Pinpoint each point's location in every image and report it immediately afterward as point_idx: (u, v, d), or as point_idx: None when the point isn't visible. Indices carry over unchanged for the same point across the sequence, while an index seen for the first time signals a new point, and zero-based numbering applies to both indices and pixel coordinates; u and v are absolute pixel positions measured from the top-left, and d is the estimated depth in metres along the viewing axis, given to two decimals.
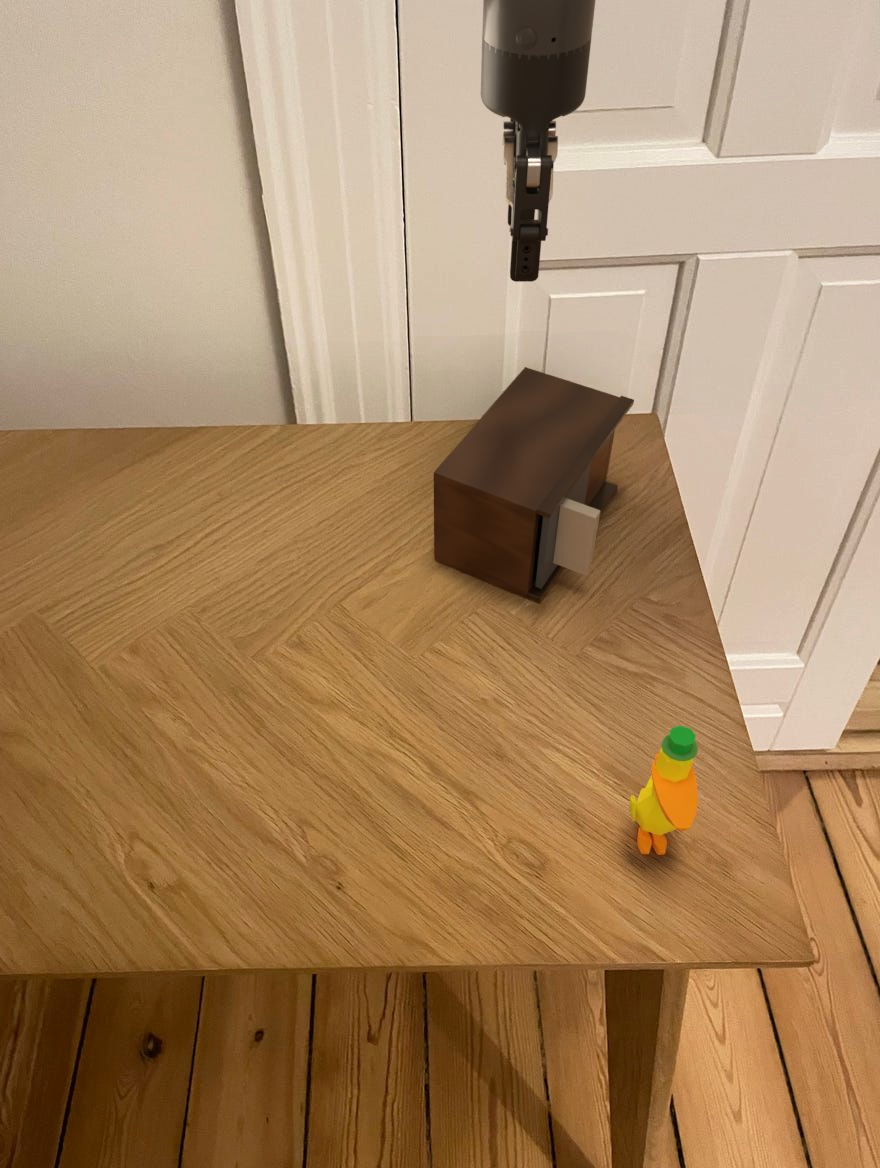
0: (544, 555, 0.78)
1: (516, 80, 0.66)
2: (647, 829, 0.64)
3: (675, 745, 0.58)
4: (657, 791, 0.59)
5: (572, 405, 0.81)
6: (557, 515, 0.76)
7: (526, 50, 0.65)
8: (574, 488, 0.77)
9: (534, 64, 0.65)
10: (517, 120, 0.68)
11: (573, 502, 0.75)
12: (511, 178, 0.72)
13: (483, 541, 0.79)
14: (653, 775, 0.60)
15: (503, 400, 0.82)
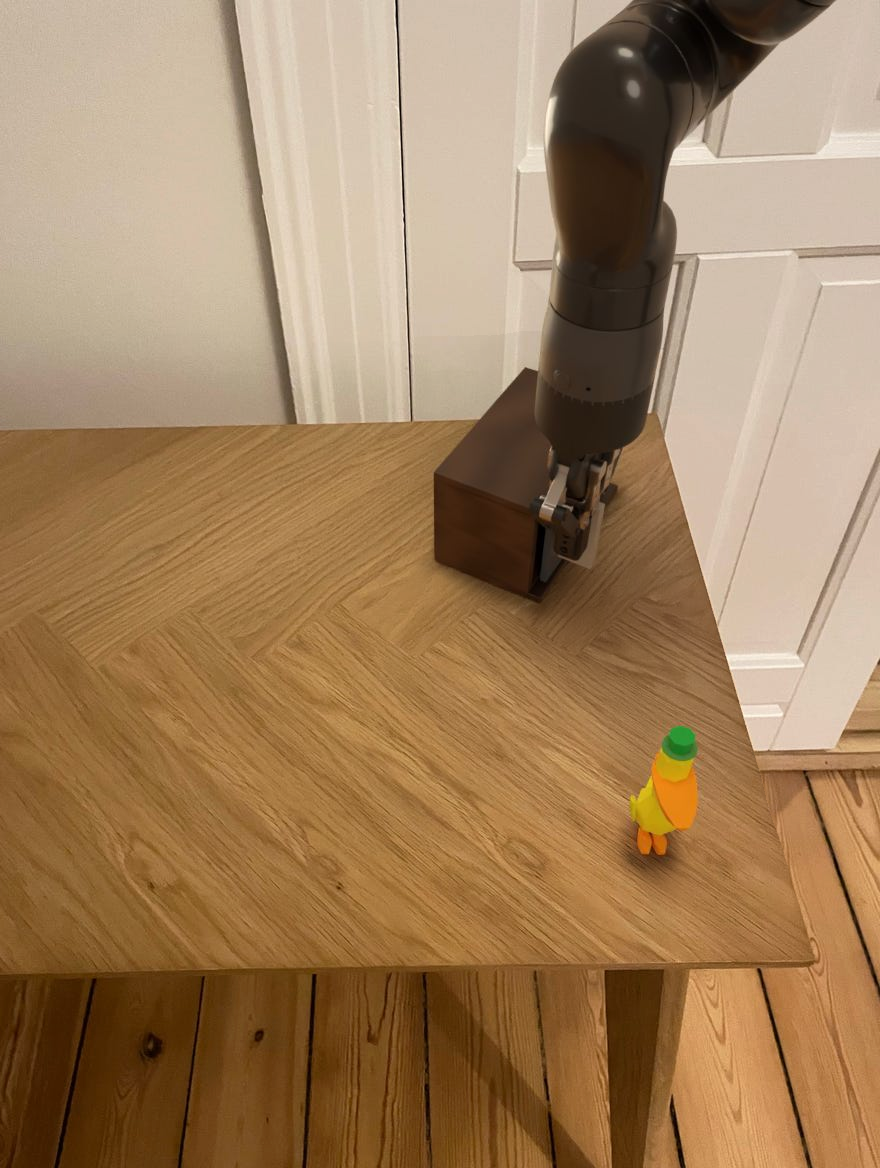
0: (549, 548, 0.78)
1: (552, 410, 0.63)
2: (647, 829, 0.64)
3: (675, 745, 0.58)
4: (657, 791, 0.59)
5: None
6: None
7: (561, 389, 0.61)
8: None
9: (568, 403, 0.62)
10: (551, 443, 0.65)
11: None
12: None
13: (483, 541, 0.79)
14: (653, 775, 0.60)
15: (503, 400, 0.82)
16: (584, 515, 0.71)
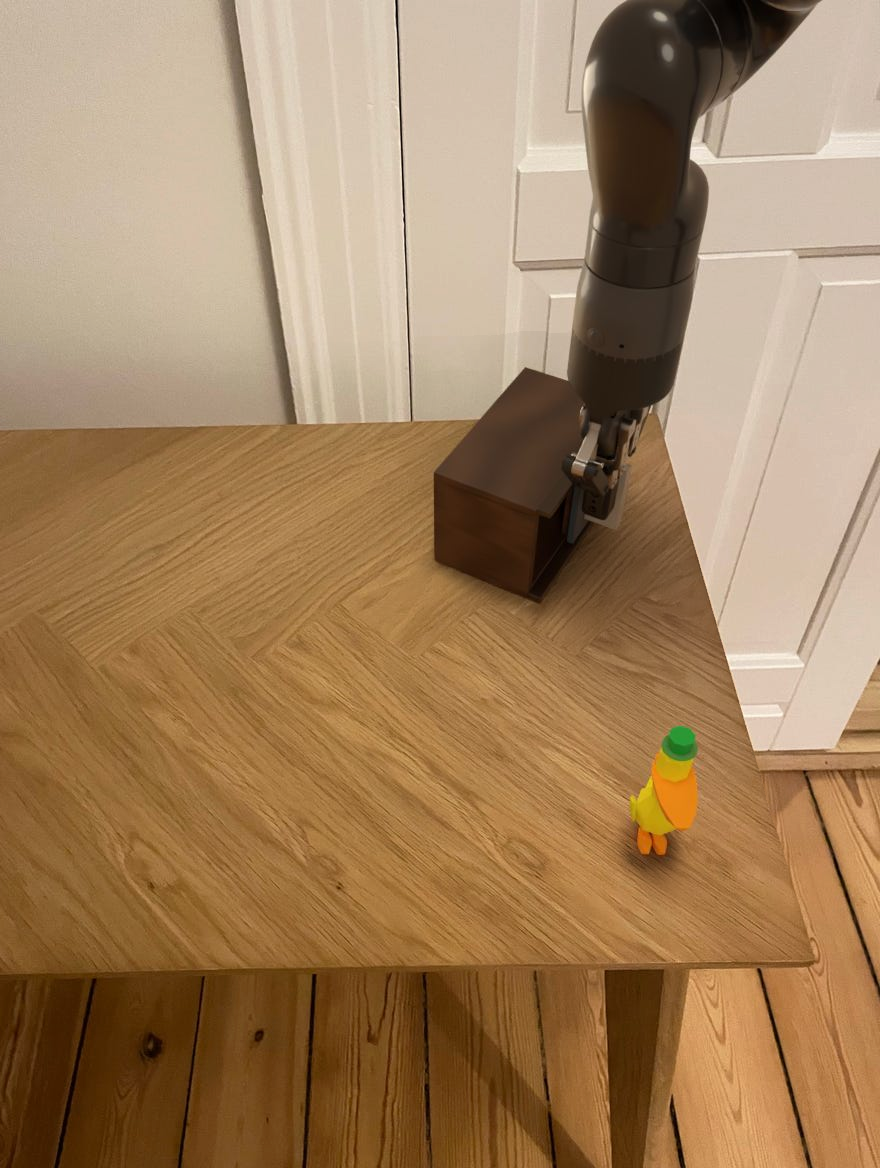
0: (576, 509, 0.81)
1: (585, 368, 0.66)
2: (647, 829, 0.64)
3: (675, 745, 0.58)
4: (657, 791, 0.59)
5: (572, 405, 0.81)
6: None
7: (595, 347, 0.64)
8: None
9: (601, 361, 0.64)
10: (583, 401, 0.68)
11: None
12: None
13: (483, 541, 0.79)
14: (653, 775, 0.60)
15: (503, 400, 0.82)
16: (613, 474, 0.74)
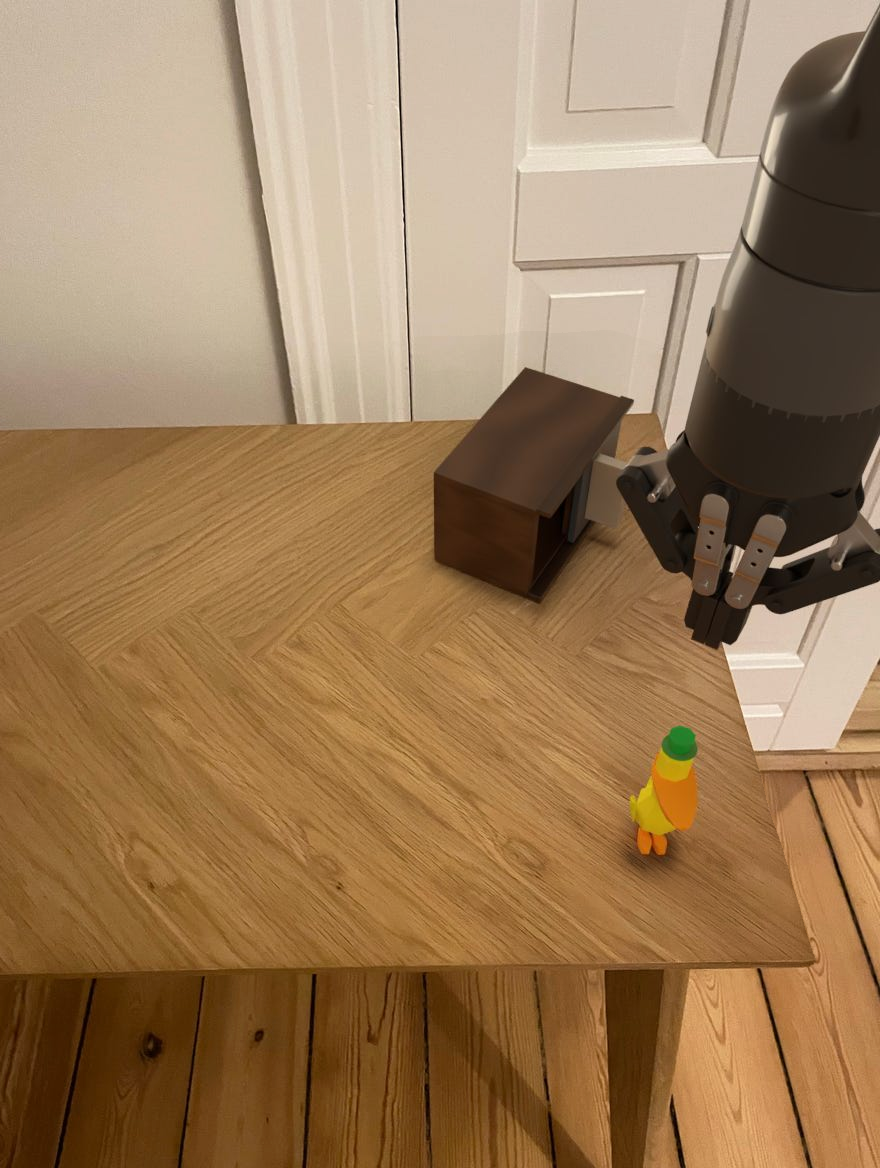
0: (577, 509, 0.81)
1: (869, 437, 0.37)
2: (647, 829, 0.64)
3: (675, 745, 0.58)
4: (657, 791, 0.59)
5: (572, 405, 0.81)
6: (590, 469, 0.79)
7: None
8: (606, 444, 0.80)
9: None
10: (850, 486, 0.39)
11: (606, 457, 0.79)
12: (771, 560, 0.44)
13: (483, 541, 0.79)
14: (653, 775, 0.60)
15: (503, 400, 0.82)
16: None
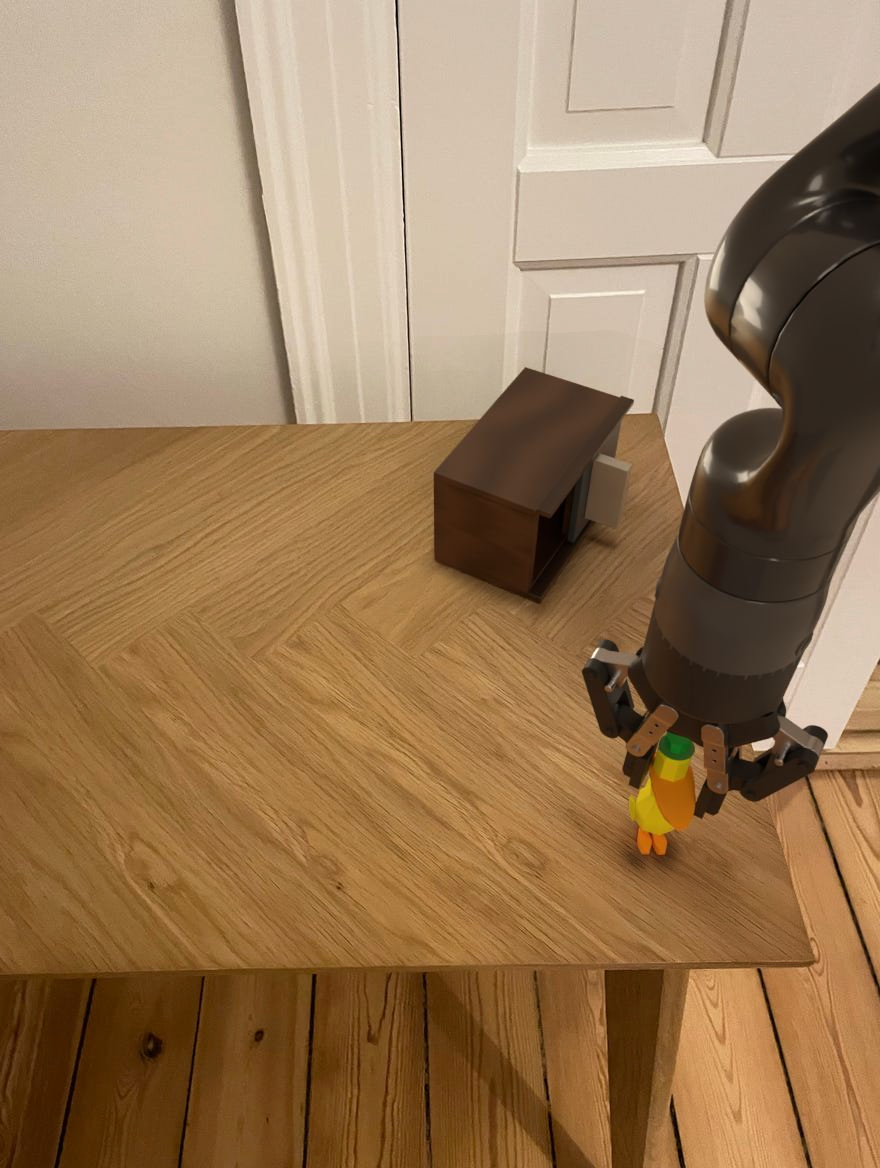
0: (577, 509, 0.81)
1: (783, 683, 0.47)
2: (646, 829, 0.64)
3: (672, 745, 0.58)
4: (655, 791, 0.59)
5: (572, 405, 0.81)
6: (590, 469, 0.79)
7: (801, 652, 0.46)
8: (606, 444, 0.80)
9: (801, 655, 0.47)
10: (772, 710, 0.49)
11: (606, 457, 0.79)
12: (727, 756, 0.54)
13: (483, 541, 0.79)
14: (651, 775, 0.60)
15: (503, 400, 0.82)
16: None
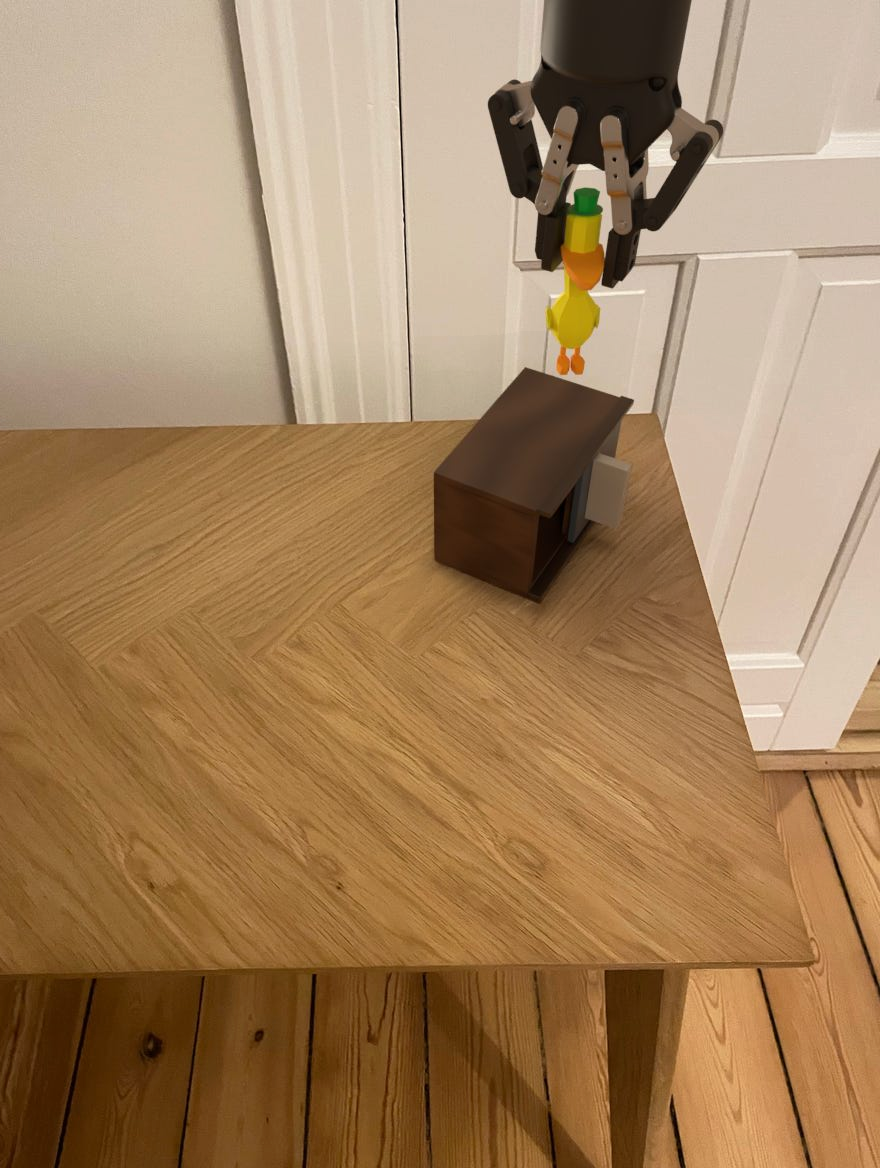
0: (577, 509, 0.81)
1: (671, 21, 0.48)
2: (562, 335, 0.65)
3: (579, 199, 0.59)
4: (565, 260, 0.60)
5: (572, 405, 0.81)
6: (590, 469, 0.79)
7: None
8: (606, 444, 0.80)
9: None
10: (664, 75, 0.51)
11: (606, 457, 0.79)
12: (628, 167, 0.55)
13: (483, 541, 0.79)
14: (562, 250, 0.61)
15: (503, 400, 0.82)
16: None
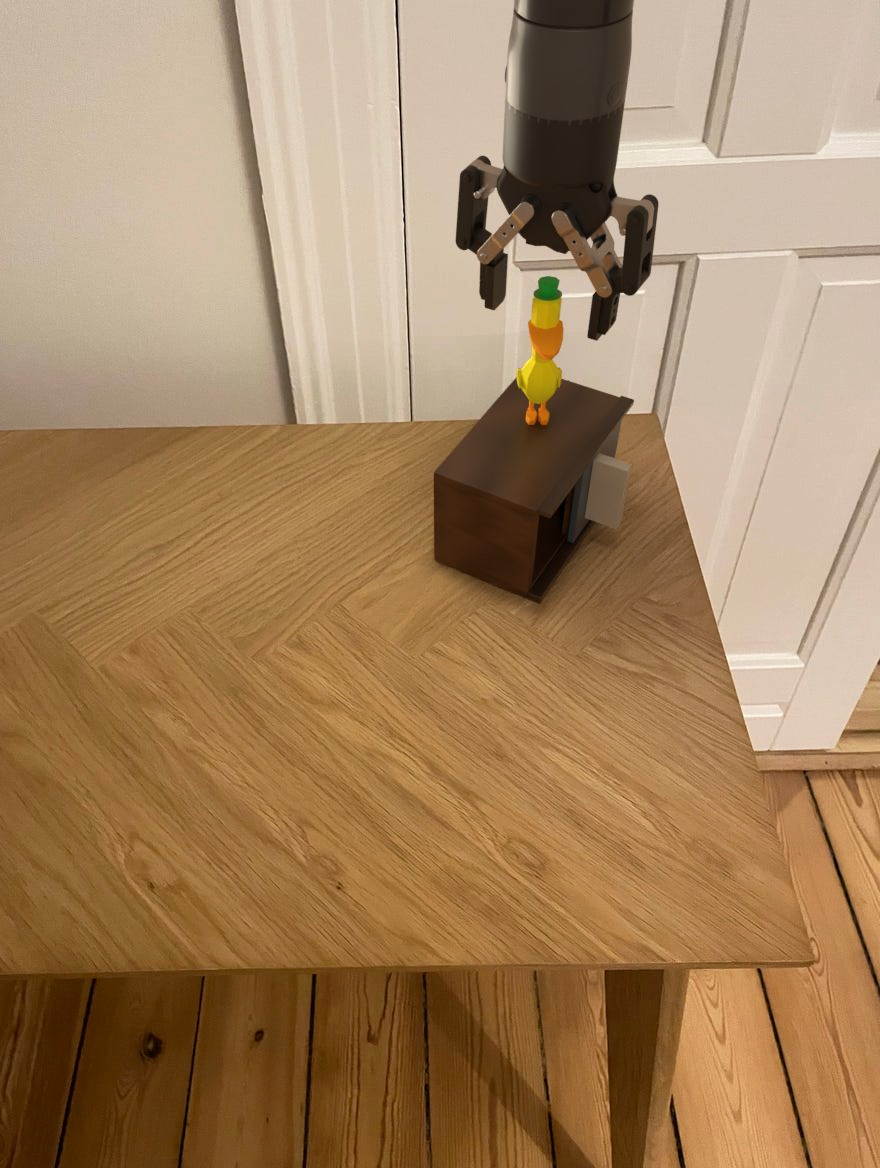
0: (577, 509, 0.81)
1: (604, 141, 0.61)
2: (530, 393, 0.78)
3: (542, 286, 0.72)
4: (531, 334, 0.73)
5: (572, 405, 0.81)
6: (590, 469, 0.79)
7: (614, 106, 0.59)
8: (606, 444, 0.80)
9: (617, 117, 0.60)
10: (601, 181, 0.63)
11: (606, 457, 0.79)
12: (587, 243, 0.66)
13: (483, 541, 0.79)
14: (529, 326, 0.74)
15: (503, 400, 0.82)
16: None
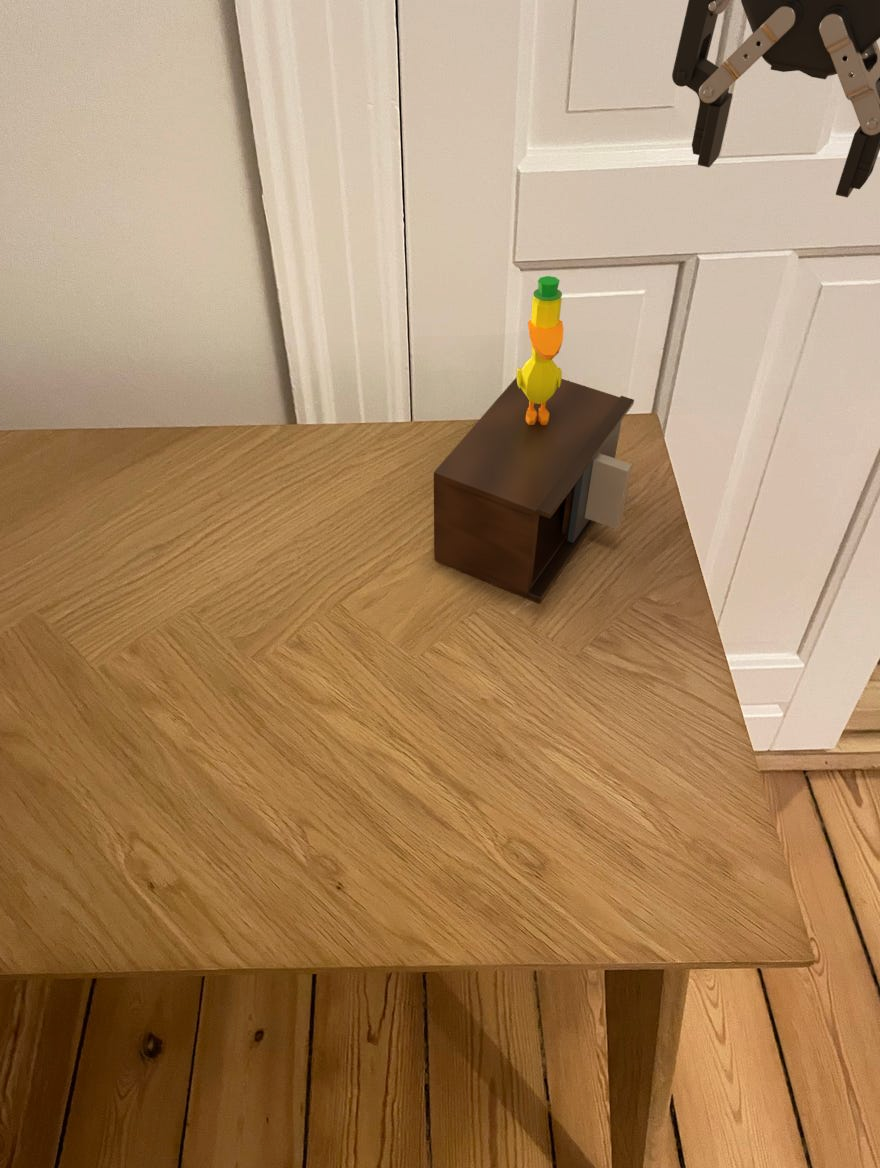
0: (577, 509, 0.81)
1: None
2: (530, 393, 0.78)
3: (542, 286, 0.72)
4: (531, 334, 0.73)
5: (572, 405, 0.81)
6: (590, 469, 0.79)
7: None
8: (606, 444, 0.80)
9: None
10: None
11: (606, 457, 0.79)
12: (862, 60, 0.52)
13: (483, 541, 0.79)
14: (529, 326, 0.74)
15: (503, 400, 0.82)
16: None
